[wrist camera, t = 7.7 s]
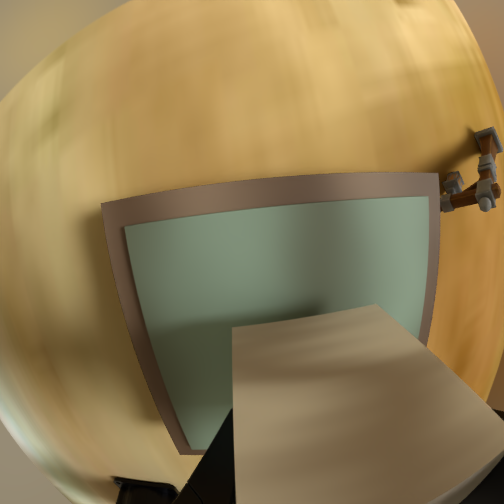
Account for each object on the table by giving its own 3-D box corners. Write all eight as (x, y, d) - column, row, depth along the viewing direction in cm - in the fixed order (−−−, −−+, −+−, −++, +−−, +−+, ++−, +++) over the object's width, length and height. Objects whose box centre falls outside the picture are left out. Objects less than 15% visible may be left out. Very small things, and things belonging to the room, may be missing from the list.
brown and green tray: (185, 421, 15) (179, 458, 12) (128, 200, 12) (97, 204, 9) (388, 387, 16) (409, 416, 12) (403, 174, 13) (442, 173, 9)
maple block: (249, 427, 10) (265, 577, 3) (232, 327, 9) (239, 553, 2) (363, 404, 10) (431, 526, 3) (376, 303, 9) (518, 436, 2)
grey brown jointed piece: (419, 205, 12) (493, 189, 8) (447, 142, 15) (495, 125, 11) (432, 231, 13) (503, 222, 8) (457, 162, 15) (505, 149, 11)
